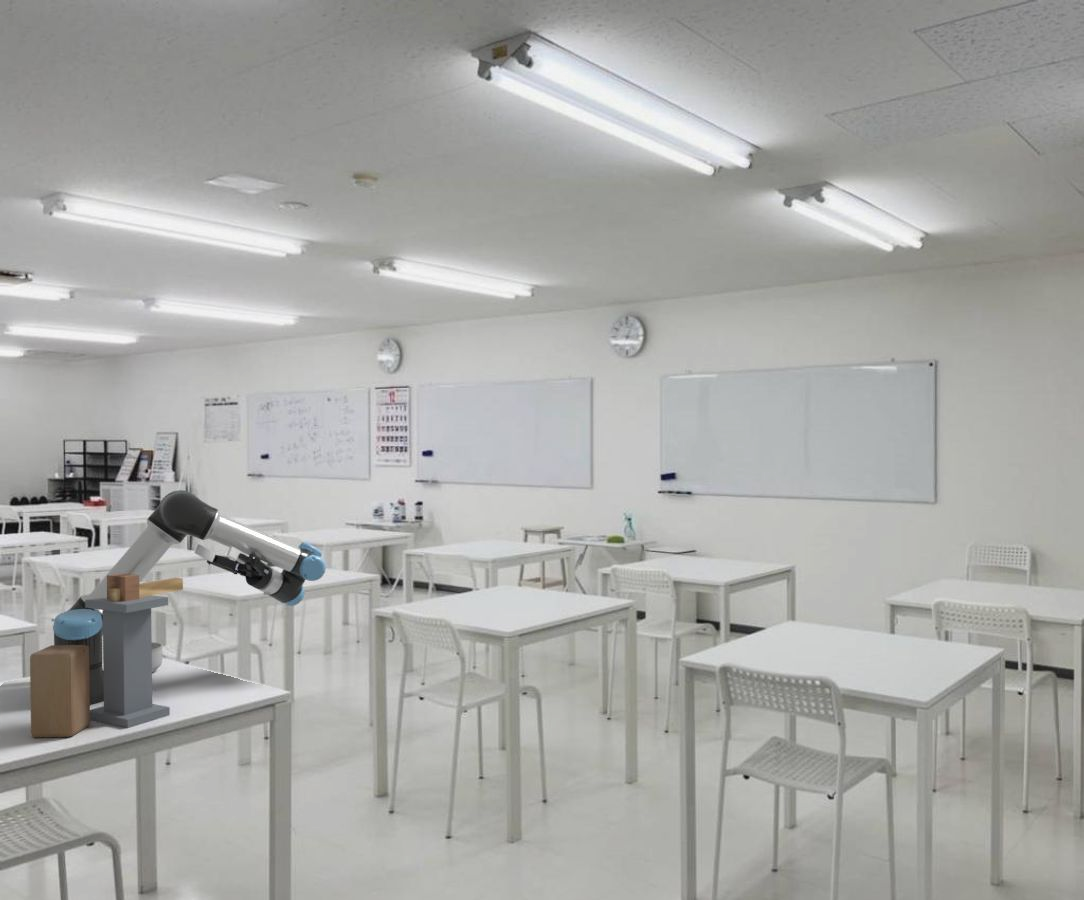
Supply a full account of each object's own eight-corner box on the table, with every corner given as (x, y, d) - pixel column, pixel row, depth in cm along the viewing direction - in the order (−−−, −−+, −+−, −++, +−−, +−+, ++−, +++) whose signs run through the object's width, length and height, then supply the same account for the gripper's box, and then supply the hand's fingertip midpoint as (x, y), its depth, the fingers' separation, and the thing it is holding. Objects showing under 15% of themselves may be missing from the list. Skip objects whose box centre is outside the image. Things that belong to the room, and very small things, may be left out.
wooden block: (91, 725, 226) (90, 643, 226) (72, 738, 216) (71, 653, 216) (50, 725, 226) (49, 644, 226) (29, 739, 216) (27, 653, 216)
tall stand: (86, 718, 232) (85, 599, 231) (128, 706, 242) (127, 592, 242) (127, 727, 224) (126, 604, 224) (169, 714, 234) (168, 597, 234)
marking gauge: (103, 599, 231) (103, 575, 231) (170, 588, 248) (169, 566, 248) (121, 601, 228) (121, 577, 227) (188, 590, 245) (187, 567, 245)
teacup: (170, 670, 280) (170, 644, 280) (138, 678, 271) (137, 651, 271) (142, 665, 288) (141, 639, 288) (110, 672, 279) (109, 646, 279)
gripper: (289, 592, 270) (238, 564, 254) (230, 587, 282) (178, 559, 266) (298, 568, 273) (248, 539, 257) (239, 564, 285) (188, 536, 269)
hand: (213, 549), depth 261 cm, fingers open, 13 cm apart
